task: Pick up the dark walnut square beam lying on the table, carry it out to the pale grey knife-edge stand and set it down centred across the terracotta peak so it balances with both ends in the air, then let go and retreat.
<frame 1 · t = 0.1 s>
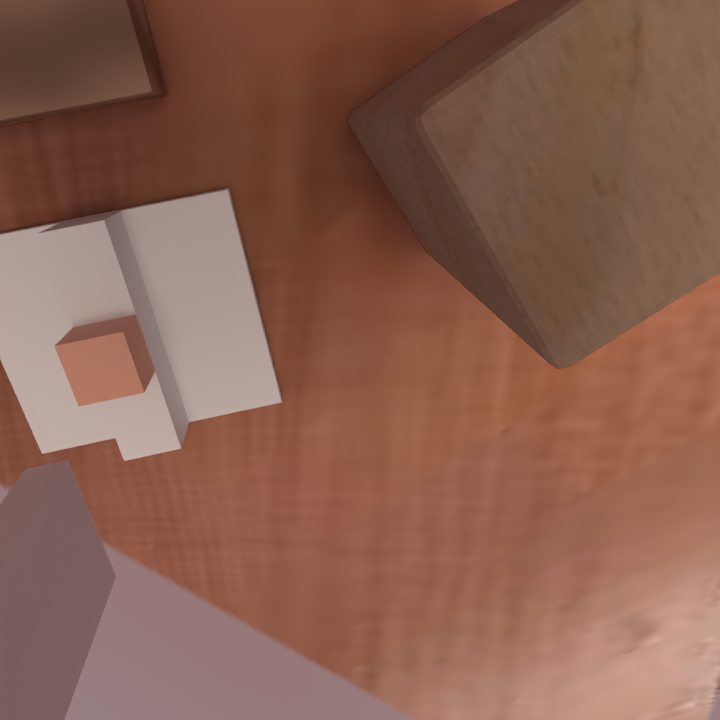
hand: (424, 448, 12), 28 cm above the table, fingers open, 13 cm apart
stand: (132, 324, 38), on the table
wooden block: (456, 142, 37), on the table
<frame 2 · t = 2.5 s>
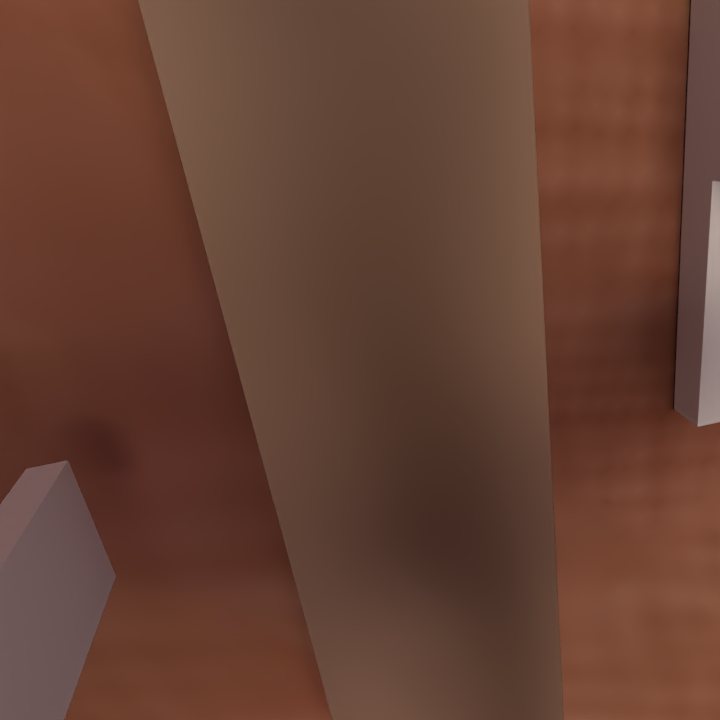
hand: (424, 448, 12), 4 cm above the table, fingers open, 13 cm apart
beam: (370, 368, 15), on the table
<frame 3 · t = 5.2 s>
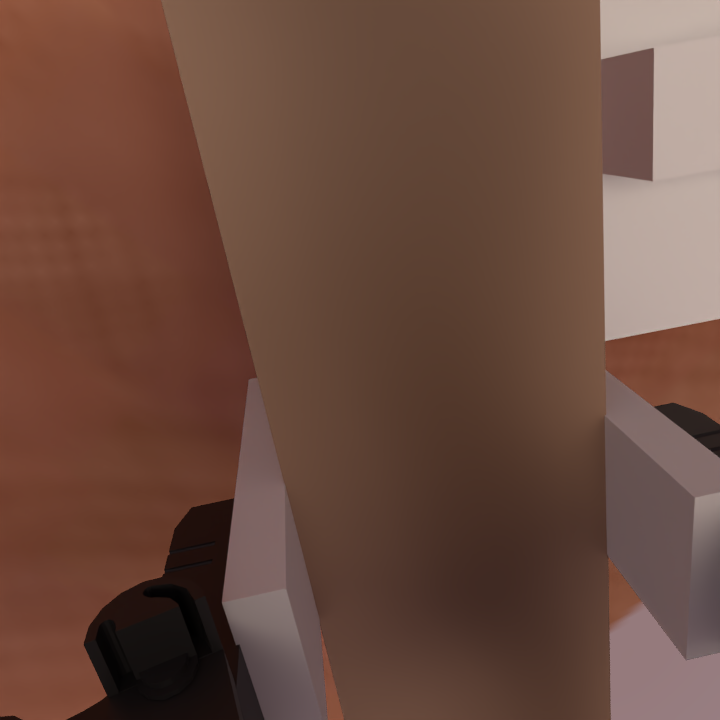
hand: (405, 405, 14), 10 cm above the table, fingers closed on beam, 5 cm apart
beam: (400, 398, 14), point 9 cm above the table, touching gripper
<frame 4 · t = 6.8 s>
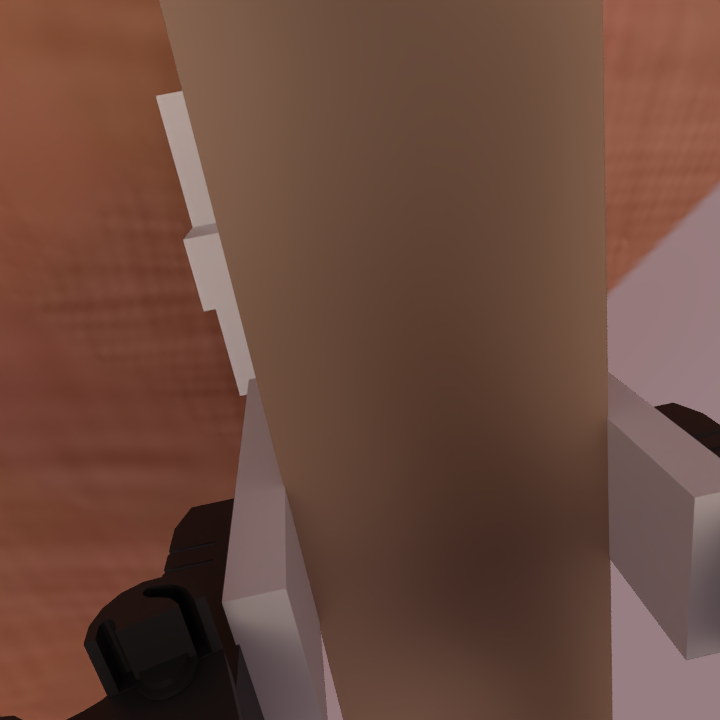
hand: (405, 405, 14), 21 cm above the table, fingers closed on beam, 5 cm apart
stand: (331, 230, 33), on the table
beam: (401, 401, 14), point 20 cm above the table, touching gripper
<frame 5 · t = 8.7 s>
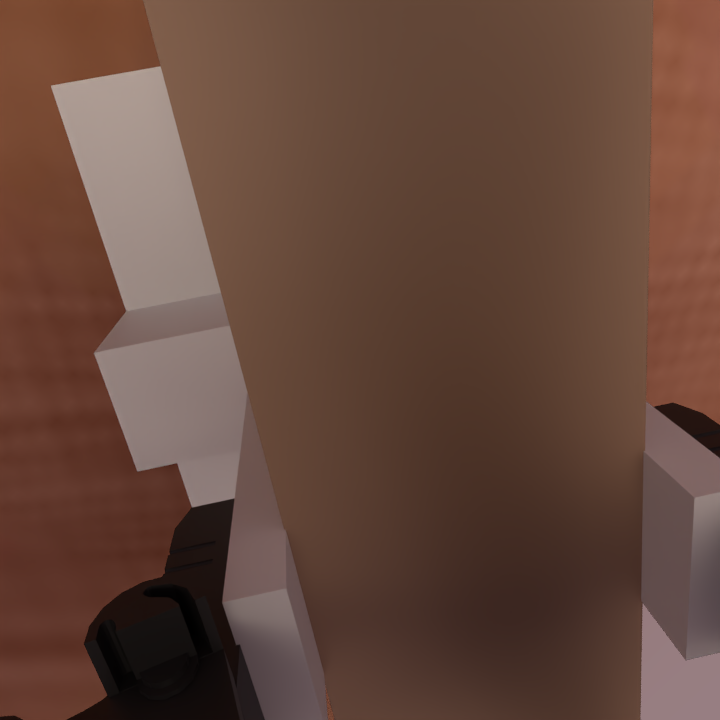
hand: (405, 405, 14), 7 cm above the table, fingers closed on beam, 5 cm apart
stand: (360, 310, 20), on the table
beam: (408, 419, 13), point 8 cm above the table, touching gripper, stand
when the fingers open (7 cm above the table, at t = 8.8 s): beam stays where it is, resting on stand.
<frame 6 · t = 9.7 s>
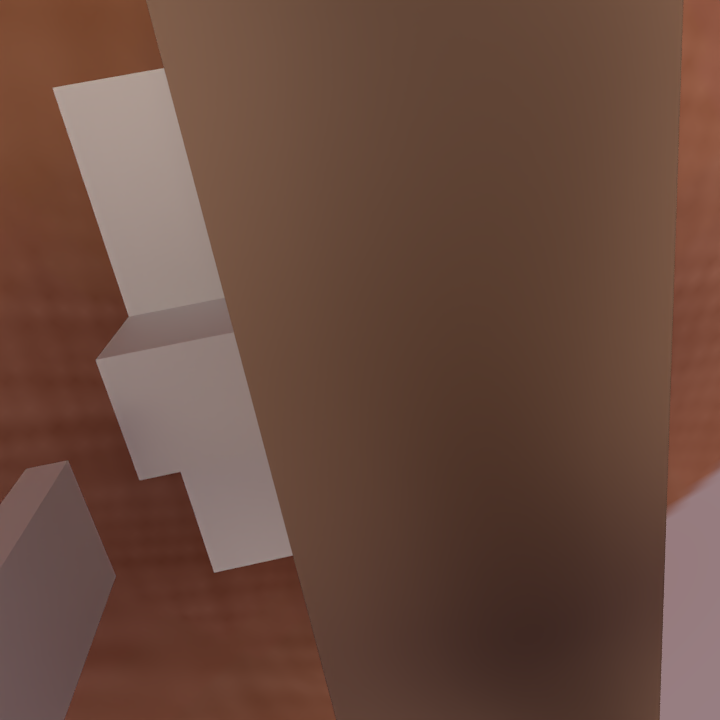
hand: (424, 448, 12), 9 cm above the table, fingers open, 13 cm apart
stand: (366, 315, 20), on the table
beam: (417, 429, 13), point 7 cm above the table, touching stand
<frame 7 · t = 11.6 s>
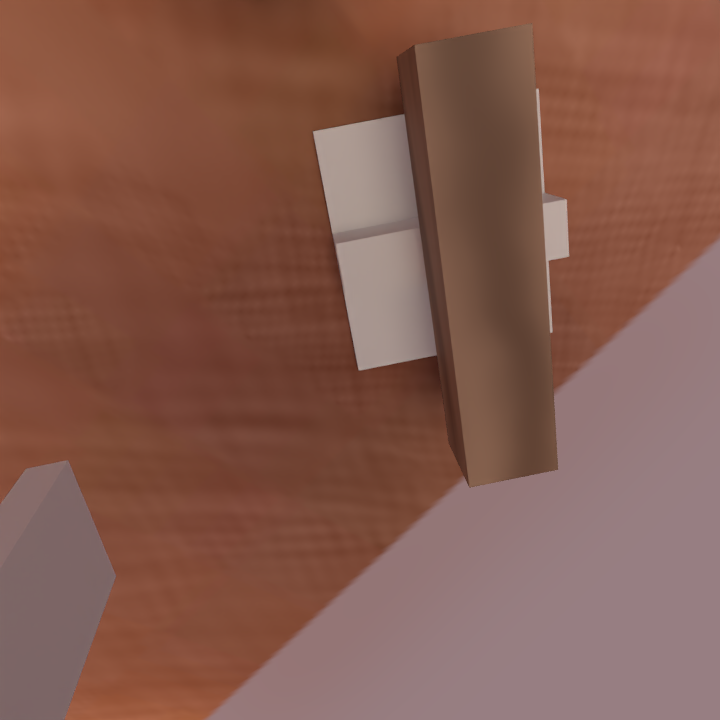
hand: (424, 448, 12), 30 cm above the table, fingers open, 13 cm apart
stand: (439, 237, 41), on the table
beam: (469, 264, 34), point 7 cm above the table, touching stand
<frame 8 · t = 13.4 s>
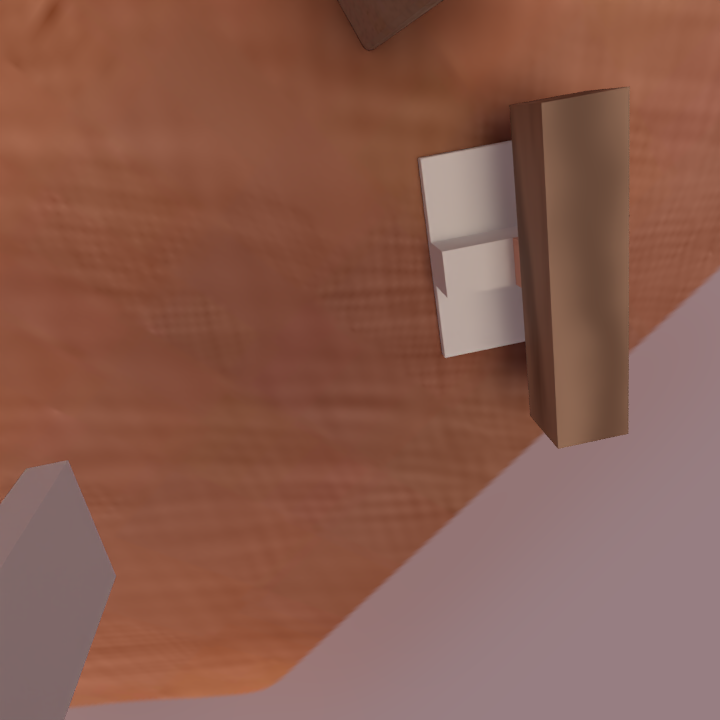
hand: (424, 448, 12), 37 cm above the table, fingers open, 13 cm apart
stand: (515, 245, 49), on the table
beam: (555, 269, 42), point 7 cm above the table, touching stand
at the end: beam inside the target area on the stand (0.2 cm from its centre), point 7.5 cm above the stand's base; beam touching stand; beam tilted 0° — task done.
